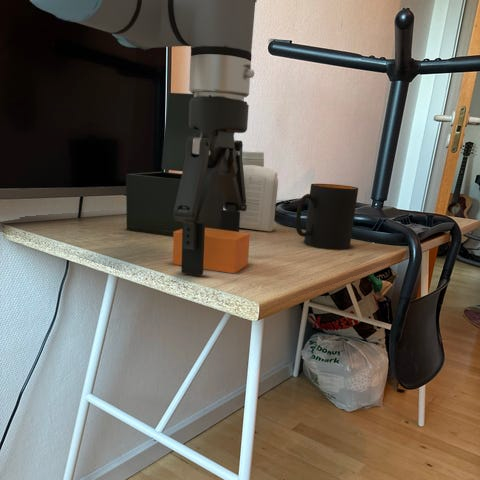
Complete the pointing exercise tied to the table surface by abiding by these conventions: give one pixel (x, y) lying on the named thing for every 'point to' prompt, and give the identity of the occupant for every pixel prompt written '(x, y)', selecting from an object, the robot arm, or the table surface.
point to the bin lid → (177, 131)
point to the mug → (328, 216)
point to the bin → (163, 203)
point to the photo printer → (259, 198)
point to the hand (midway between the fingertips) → (211, 263)
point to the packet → (218, 249)
